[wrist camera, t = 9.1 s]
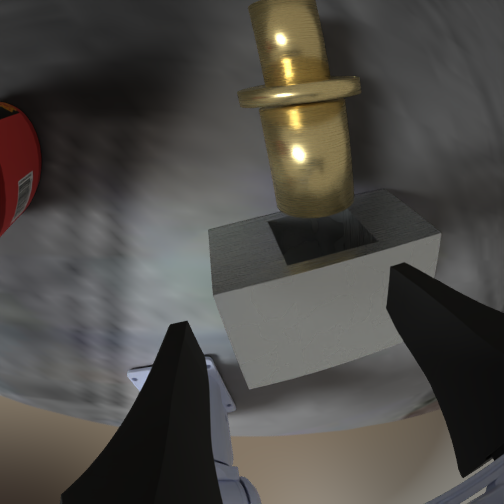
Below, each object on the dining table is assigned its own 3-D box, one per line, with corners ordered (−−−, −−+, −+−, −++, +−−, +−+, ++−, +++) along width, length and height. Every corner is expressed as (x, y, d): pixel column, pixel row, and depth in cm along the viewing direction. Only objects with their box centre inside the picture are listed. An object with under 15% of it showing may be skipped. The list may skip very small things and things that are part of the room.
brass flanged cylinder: (343, 173, 18) (389, 210, 13) (253, 192, 18) (274, 238, 13) (318, 11, 13) (366, -12, 8) (216, 23, 13) (223, -5, 8)
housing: (381, 280, 24) (421, 334, 18) (236, 320, 24) (249, 389, 18) (384, 188, 20) (441, 232, 14) (208, 230, 19) (213, 295, 14)
